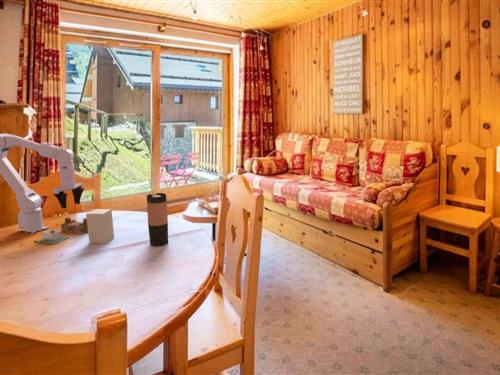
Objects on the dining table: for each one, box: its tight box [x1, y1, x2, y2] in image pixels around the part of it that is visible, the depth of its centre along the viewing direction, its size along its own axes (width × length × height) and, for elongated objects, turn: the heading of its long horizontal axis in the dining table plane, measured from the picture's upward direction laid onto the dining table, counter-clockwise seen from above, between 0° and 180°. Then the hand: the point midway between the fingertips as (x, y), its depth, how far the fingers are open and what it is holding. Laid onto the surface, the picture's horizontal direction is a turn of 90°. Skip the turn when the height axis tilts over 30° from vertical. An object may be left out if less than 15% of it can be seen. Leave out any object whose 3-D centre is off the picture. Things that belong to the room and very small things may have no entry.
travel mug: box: [146, 192, 169, 247], centre depth 137 cm, size 8×8×20 cm
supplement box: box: [85, 208, 115, 245], centre depth 141 cm, size 7×7×13 cm
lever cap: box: [40, 228, 63, 242], centre depth 142 cm, size 6×4×4 cm
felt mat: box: [36, 235, 70, 245], centre depth 142 cm, size 10×8×1 cm
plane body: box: [60, 217, 88, 234], centre depth 154 cm, size 13×5×6 cm, turn 72°
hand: (70, 205), depth 155 cm, fingers open, 7 cm apart
